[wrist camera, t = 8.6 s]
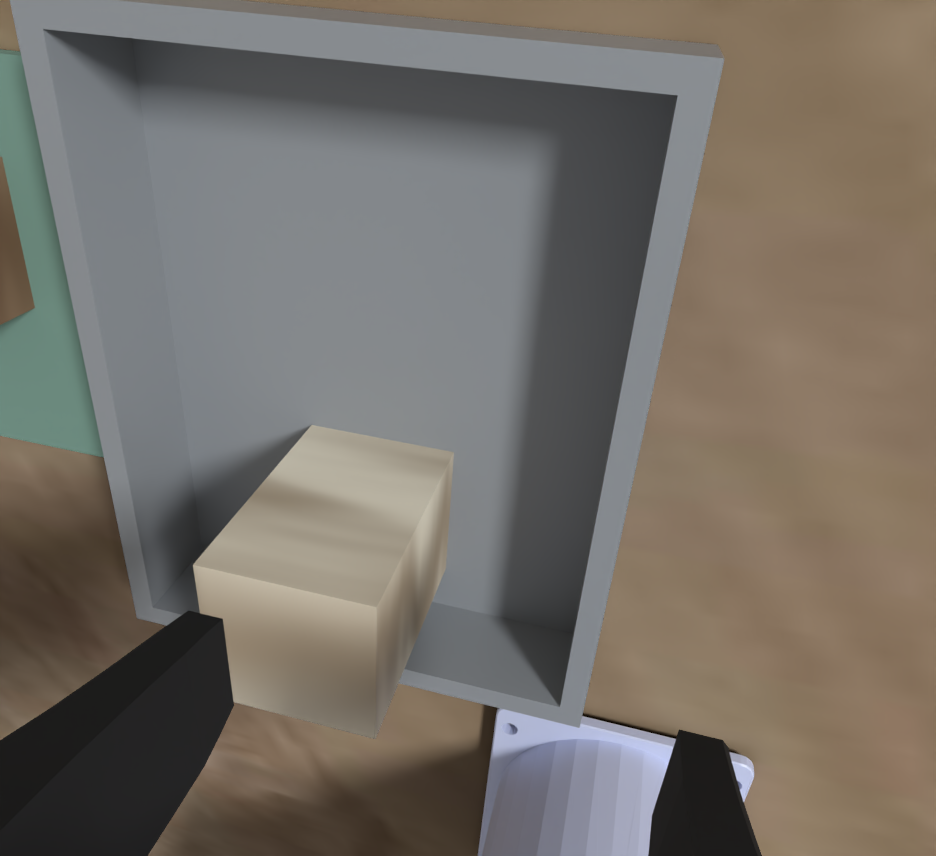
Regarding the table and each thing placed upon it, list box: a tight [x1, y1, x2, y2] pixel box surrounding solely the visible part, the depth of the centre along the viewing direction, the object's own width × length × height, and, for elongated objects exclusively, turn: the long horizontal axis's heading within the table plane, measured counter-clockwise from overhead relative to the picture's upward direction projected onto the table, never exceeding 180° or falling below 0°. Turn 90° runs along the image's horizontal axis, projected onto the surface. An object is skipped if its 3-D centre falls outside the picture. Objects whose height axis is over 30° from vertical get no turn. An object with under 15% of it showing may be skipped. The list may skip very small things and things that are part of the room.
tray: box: [10, 0, 724, 728], centre depth 19 cm, size 16×13×3 cm
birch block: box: [193, 425, 454, 739], centre depth 19 cm, size 4×4×6 cm
